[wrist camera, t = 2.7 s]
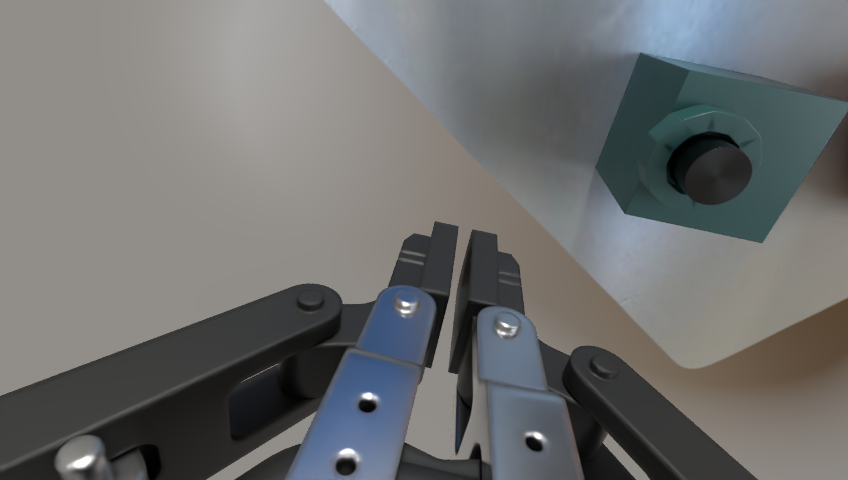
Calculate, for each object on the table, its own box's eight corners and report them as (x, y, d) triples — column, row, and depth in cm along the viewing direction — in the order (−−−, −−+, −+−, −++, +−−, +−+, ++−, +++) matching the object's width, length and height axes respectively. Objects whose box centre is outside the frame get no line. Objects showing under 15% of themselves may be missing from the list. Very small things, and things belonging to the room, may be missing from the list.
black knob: (659, 183, 29) (673, 198, 27) (684, 129, 27) (702, 141, 25) (714, 194, 29) (732, 211, 26) (743, 141, 27) (766, 154, 25)
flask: (586, 165, 40) (620, 223, 30) (629, 50, 36) (688, 71, 25) (703, 190, 40) (778, 257, 30) (763, 77, 35) (879, 110, 25)
